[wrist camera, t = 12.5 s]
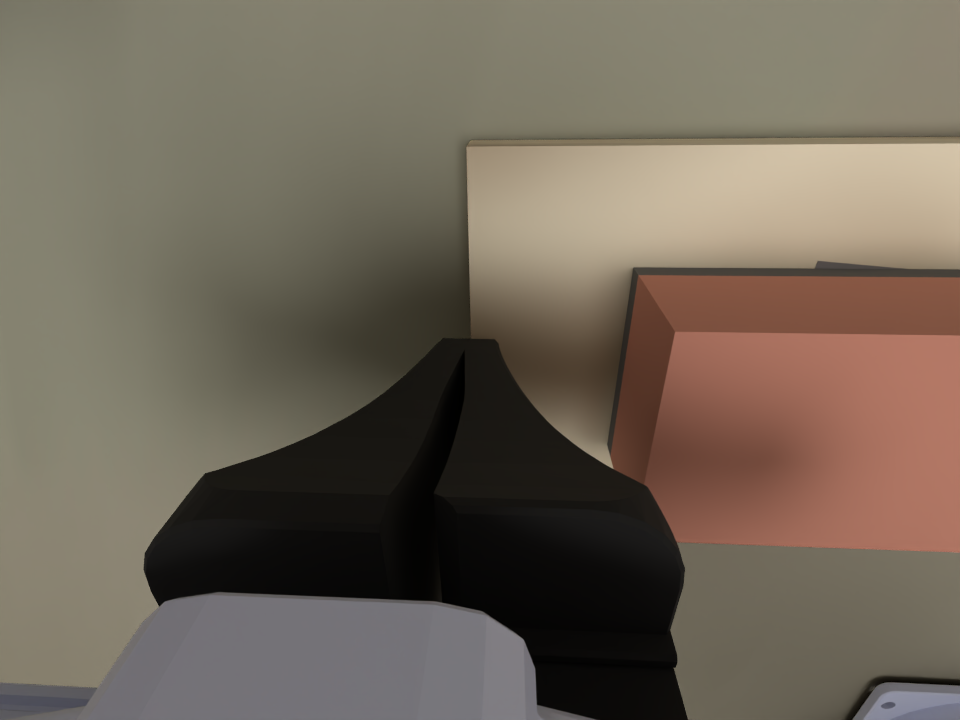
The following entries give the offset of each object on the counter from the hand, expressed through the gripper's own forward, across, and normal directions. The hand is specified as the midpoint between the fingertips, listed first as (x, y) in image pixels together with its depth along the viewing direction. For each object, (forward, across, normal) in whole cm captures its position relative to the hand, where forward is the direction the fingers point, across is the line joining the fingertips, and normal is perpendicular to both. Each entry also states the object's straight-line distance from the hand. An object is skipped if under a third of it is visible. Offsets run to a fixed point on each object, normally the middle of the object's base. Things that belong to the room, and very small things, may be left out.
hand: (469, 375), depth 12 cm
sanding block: (+1, -8, 0) cm, 8 cm away
